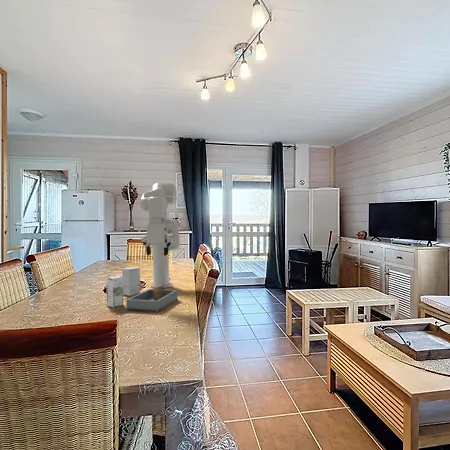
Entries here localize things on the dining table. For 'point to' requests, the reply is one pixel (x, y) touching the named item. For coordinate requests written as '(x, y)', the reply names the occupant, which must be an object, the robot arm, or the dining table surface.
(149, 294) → the tray
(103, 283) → the dining table surface
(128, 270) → the skincare box
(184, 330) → the dining table surface
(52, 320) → the dining table surface
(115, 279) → the syrup box
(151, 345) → the dining table surface
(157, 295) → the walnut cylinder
